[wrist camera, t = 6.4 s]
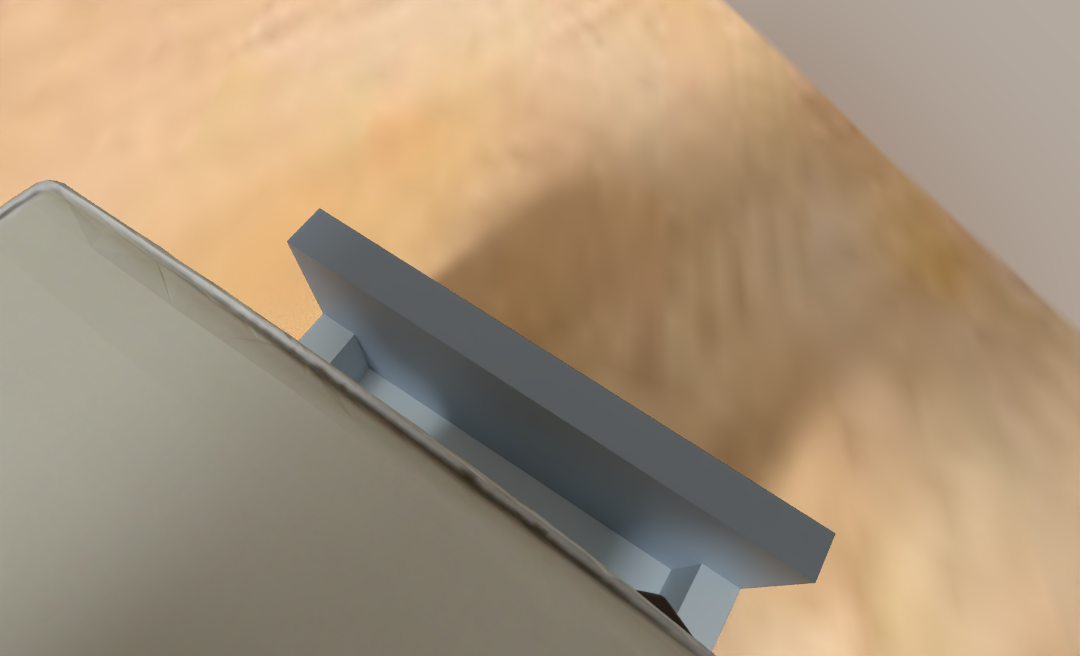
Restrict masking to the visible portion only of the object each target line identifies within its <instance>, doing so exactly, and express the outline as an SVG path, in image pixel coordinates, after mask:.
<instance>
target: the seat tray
mask: <svg viewBox="0 0 1080 656" xmlns="http://www.w3.org/2000/svg"><path fill="white" fill-rule="evenodd" d="M287 242H288V244H289V246H290V248H291V250H292V252H293V254H294V256H295V258H296V260H297V262H298V264H299V266H300V268H301V270H302V272H303V274H304V276H305V278H306V280H307V282H308V284H309V286H310V288H311V290H312V292H313V294H314V296H315V298H316V300H317V302H318V304H319V306H320V308H321V310H322V312H323V314H322V316H321V317H320V318H319V319H318V320H317V321H316V322H315V323H314V324H313V326H312V327H311V328H310V329H309V330H308V331H307V332H306V333H305V335H304V336H303V337H302V338H301V339H300V340H299V342H300V343H301V344H303V345H304V346H306V347H307V348H309V349H310V350H311V351H313V352H314V353H316V354H317V355H318V356H320V357H321V358H323V359H324V360H326V361H327V362H328V363H330V364H331V365H333V366H334V367H336V368H337V369H338V370H340V371H341V372H343V373H344V374H345V375H347V376H348V377H349V378H351V379H352V380H354V381H355V382H356V383H358V384H359V385H361V386H362V387H363V388H365V389H366V390H367V391H369V392H370V393H372V394H373V395H374V396H376V397H377V398H378V399H380V400H381V401H383V402H384V403H385V404H387V405H388V406H390V407H391V408H392V409H394V410H395V411H397V412H398V413H399V414H401V415H402V416H404V417H405V418H407V419H408V420H410V421H411V422H413V423H414V424H416V425H417V426H419V427H420V428H421V429H422V430H424V431H425V432H426V433H428V434H429V435H430V436H431V437H433V438H434V439H435V440H436V441H438V442H439V443H440V444H441V445H443V446H444V447H446V448H447V449H449V450H450V451H452V452H453V453H455V454H456V455H458V456H459V457H461V458H462V459H464V460H465V461H467V462H468V463H469V464H471V465H472V466H473V467H475V468H476V469H477V470H479V471H480V472H481V473H483V474H484V475H485V476H487V477H488V478H489V479H491V480H492V481H493V482H495V483H496V484H497V485H499V486H500V487H501V488H503V489H504V490H506V491H507V492H508V493H510V494H511V495H512V496H514V497H515V498H516V499H518V500H519V501H521V502H522V503H523V504H525V505H526V506H528V507H529V508H530V509H532V510H533V511H534V512H536V513H537V514H539V515H540V516H541V517H543V518H544V519H545V520H546V521H547V522H549V523H550V524H551V525H552V526H554V527H555V528H556V529H558V530H559V531H560V532H562V533H563V534H564V535H566V536H567V537H568V538H570V539H571V540H572V541H574V542H575V543H576V544H578V545H579V546H580V547H582V548H583V549H584V550H586V551H587V552H588V553H589V554H591V555H592V556H593V557H594V558H595V559H597V560H598V561H599V562H600V563H601V564H603V565H604V566H605V567H606V568H607V569H609V570H610V571H611V572H613V573H614V574H615V575H617V576H618V577H619V578H621V579H622V580H623V581H625V582H626V583H627V584H629V585H630V586H631V587H632V588H634V589H635V590H640V591H645V592H650V593H655V594H659V595H662V596H663V597H665V598H666V599H667V601H668V602H669V603H670V605H671V606H672V608H673V609H674V610H675V612H676V613H677V615H678V616H679V617H680V619H681V620H682V621H683V623H684V624H685V626H686V627H687V628H688V630H689V631H690V633H691V634H692V635H693V637H694V638H695V639H697V640H698V641H699V642H700V643H702V644H703V645H704V646H705V647H706V648H708V649H709V650H710V651H711V652H712V650H713V648H714V646H715V643H716V641H717V639H718V637H719V635H720V633H721V630H722V628H723V626H724V624H725V622H726V619H727V617H728V615H729V613H730V611H731V608H732V606H733V604H734V602H735V600H736V597H737V595H738V593H739V591H740V589H745V588H757V587H769V586H782V585H794V584H806V583H815V582H816V580H817V578H818V575H819V573H820V570H821V568H822V565H823V563H824V560H825V558H826V556H827V553H828V551H829V548H830V546H831V543H832V541H833V538H834V536H835V533H834V532H832V531H831V530H829V529H827V528H826V527H824V526H823V525H821V524H819V523H818V522H816V521H815V520H813V519H812V518H810V517H808V516H807V515H805V514H804V513H802V512H800V511H799V510H797V509H796V508H794V507H793V506H791V505H789V504H788V503H786V502H785V501H783V500H781V499H780V498H778V497H777V496H775V495H774V494H772V493H770V492H769V491H767V490H766V489H764V488H762V487H761V486H759V485H758V484H756V483H754V482H753V481H751V480H750V479H748V478H747V477H745V476H743V475H742V474H740V473H739V472H737V471H735V470H734V469H732V468H731V467H729V466H728V465H726V464H724V463H723V462H721V461H720V460H718V459H716V458H715V457H713V456H712V455H710V454H708V453H707V452H705V451H704V450H702V449H701V448H699V447H697V446H696V445H694V444H693V443H691V442H689V441H688V440H686V439H685V438H683V437H682V436H680V435H678V434H677V433H675V432H674V431H672V430H670V429H669V428H667V427H666V426H664V425H663V424H661V423H659V422H658V421H656V420H655V419H653V418H651V417H650V416H648V415H647V414H645V413H643V412H642V411H640V410H639V409H637V408H636V407H634V406H632V405H631V404H629V403H628V402H626V401H624V400H623V399H621V398H620V397H618V396H617V395H615V394H613V393H612V392H610V391H609V390H607V389H605V388H604V387H602V386H601V385H599V384H597V383H596V382H594V381H593V380H591V379H590V378H588V377H586V376H585V375H583V374H582V373H580V372H578V371H577V370H575V369H574V368H572V367H571V366H569V365H567V364H566V363H564V362H563V361H561V360H559V359H558V358H556V357H555V356H553V355H552V354H550V353H548V352H547V351H545V350H544V349H542V348H540V347H539V346H537V345H536V344H534V343H532V342H531V341H529V340H528V339H526V338H525V337H523V336H521V335H520V334H518V333H517V332H515V331H513V330H512V329H510V328H509V327H507V326H506V325H504V324H502V323H501V322H499V321H498V320H496V319H494V318H493V317H491V316H490V315H488V314H487V313H485V312H483V311H482V310H480V309H479V308H477V307H475V306H474V305H472V304H471V303H469V302H467V301H466V300H464V299H463V298H461V297H460V296H458V295H456V294H455V293H453V292H452V291H450V290H448V289H447V288H445V287H444V286H442V285H441V284H439V283H437V282H436V281H434V280H433V279H431V278H429V277H428V276H426V275H425V274H423V273H421V272H420V271H418V270H417V269H415V268H414V267H412V266H410V265H409V264H407V263H406V262H404V261H402V260H401V259H399V258H398V257H396V256H395V255H393V254H391V253H390V252H388V251H387V250H385V249H383V248H382V247H380V246H379V245H377V244H376V243H374V242H372V241H371V240H369V239H368V238H366V237H364V236H363V235H361V234H360V233H358V232H356V231H355V230H353V229H352V228H350V227H349V226H347V225H345V224H344V223H342V222H341V221H339V220H337V219H336V218H334V217H333V216H331V215H330V214H328V213H326V212H325V211H323V210H322V209H320V208H319V209H318V210H317V211H316V213H315V214H314V215H313V216H312V217H311V218H310V219H309V220H308V221H307V222H306V223H305V224H304V225H303V226H302V227H301V228H300V229H299V230H298V231H297V232H296V233H295V234H294V235H293V236H292V237H291V238H290V239H289V240H288V241H287Z"/></svg>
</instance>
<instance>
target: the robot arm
mask: <svg viewBox="0 0 1080 656" xmlns="http://www.w3.org/2000/svg"><path fill="white" fill-rule="evenodd" d="M636 591H637V592H638V593H640V594H641V595H642V596H643V597H645V598H646V599H647V600H648V601H649V602H651V603H652V604H653V605H654V606H655V607H657V608H658V609H659V610H660V611H662V612H663V613H664V614H665V615H666V616H668V617H669V618H670V619H671V620H673V621H674V622H675V623H676V624H678V625H679V626H680V627H681V628H683V629H684V630H685V631H686V632H688V633H689V634H690V635H691V636H693V635H692V634H691V633H690V631H689V630H688V628H687V627H686V626H685V624H684V623H683V621H682V620H681V619H680V617H679V616H678V615H677V613H676V612H675V610H674V609H673V608H672V606H671V605H670V603H669V602H668V601H667V599H666V598H665V597H663V596H662V595H659V594H655V593H650V592H645V591H640V590H636Z"/></svg>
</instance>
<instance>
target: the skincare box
mask: <svg viewBox="0 0 1080 656" xmlns="http://www.w3.org/2000/svg"><path fill="white" fill-rule="evenodd" d="M0 656H716V655H714V654H713V653H712V652H711V651H710V650H709V649H708V648H706V647H705V646H704V645H703V644H702V643H700V642H699V641H698V640H697V639H695V638H694V637H693V636H691V635H690V634H689V633H688V632H686V631H685V630H684V629H683V628H681V627H680V626H679V625H678V624H676V623H675V622H674V621H673V620H671V619H670V618H669V617H668V616H666V615H665V614H664V613H663V612H662V611H660V610H659V609H658V608H657V607H655V606H654V605H653V604H652V603H651V602H649V601H648V600H647V599H646V598H645V597H643V596H642V595H641V594H640V593H638V592H637V591H636V590H635V589H634V588H632V587H631V586H630V585H629V584H627V583H626V582H625V581H623V580H622V579H621V578H619V577H618V576H617V575H615V574H614V573H613V572H611V571H610V570H609V569H607V568H606V567H605V566H604V565H603V564H601V563H600V562H599V561H598V560H597V559H595V558H594V557H593V556H592V555H591V554H589V553H588V552H587V551H586V550H584V549H583V548H582V547H580V546H579V545H578V544H576V543H575V542H574V541H572V540H571V539H570V538H568V537H567V536H566V535H564V534H563V533H562V532H560V531H559V530H558V529H556V528H555V527H554V526H552V525H551V524H550V523H549V522H547V521H546V520H545V519H544V518H543V517H541V516H540V515H539V514H537V513H536V512H534V511H533V510H532V509H530V508H529V507H528V506H526V505H525V504H523V503H522V502H521V501H519V500H518V499H516V498H515V497H514V496H512V495H511V494H510V493H508V492H507V491H506V490H504V489H503V488H501V487H500V486H499V485H497V484H496V483H495V482H493V481H492V480H491V479H489V478H488V477H487V476H485V475H484V474H483V473H481V472H480V471H479V470H477V469H476V468H475V467H473V466H472V465H471V464H469V463H468V462H467V461H465V460H464V459H462V458H461V457H459V456H458V455H456V454H455V453H453V452H452V451H450V450H449V449H447V448H446V447H444V446H443V445H441V444H440V443H439V442H438V441H436V440H435V439H434V438H433V437H431V436H430V435H429V434H428V433H426V432H425V431H424V430H422V429H421V428H420V427H419V426H417V425H416V424H414V423H413V422H411V421H410V420H408V419H407V418H405V417H404V416H402V415H401V414H399V413H398V412H397V411H395V410H394V409H392V408H391V407H390V406H388V405H387V404H385V403H384V402H383V401H381V400H380V399H378V398H377V397H376V396H374V395H373V394H372V393H370V392H369V391H367V390H366V389H365V388H363V387H362V386H361V385H359V384H358V383H356V382H355V381H354V380H352V379H351V378H349V377H348V376H347V375H345V374H344V373H343V372H341V371H340V370H338V369H337V368H336V367H334V366H333V365H331V364H330V363H328V362H327V361H326V360H324V359H323V358H321V357H320V356H318V355H317V354H316V353H314V352H313V351H311V350H310V349H309V348H307V347H306V346H304V345H303V344H301V343H300V342H299V341H297V340H296V339H294V338H293V337H292V336H290V335H289V334H287V333H286V332H284V331H283V330H281V329H280V328H278V327H277V326H275V325H274V324H272V323H271V322H269V321H268V320H266V319H265V318H264V317H262V316H261V315H259V314H258V313H256V312H255V311H253V310H252V309H251V308H249V307H248V306H246V305H245V304H243V303H242V302H241V301H239V300H238V299H236V298H235V297H233V296H232V295H230V294H229V293H228V292H226V291H225V290H223V289H222V288H220V287H219V286H217V285H216V284H214V283H213V282H211V281H210V280H208V279H207V278H205V277H203V276H202V275H200V274H199V273H197V272H196V271H194V270H193V269H191V268H189V267H188V266H186V265H185V264H183V263H182V262H180V261H179V260H177V259H176V258H175V257H173V256H172V255H171V254H169V253H168V252H167V251H165V250H164V249H163V248H161V247H160V246H158V245H157V244H155V243H153V242H152V241H150V240H149V239H147V238H146V237H144V236H142V235H141V234H139V233H138V232H136V231H135V230H133V229H132V228H130V227H128V226H127V225H125V224H124V223H122V222H121V221H119V220H118V219H116V218H115V217H113V216H112V215H110V214H109V213H107V212H106V211H104V210H103V209H101V208H100V207H98V206H97V205H95V204H94V203H92V202H91V201H89V200H87V199H86V198H84V197H83V196H81V195H80V194H79V193H77V192H76V191H74V190H73V189H71V188H70V187H68V186H67V185H66V184H64V183H61V182H58V181H51V180H46V181H42V182H38V183H36V184H34V185H33V186H31V187H29V188H28V189H26V190H25V191H23V192H22V193H20V194H18V195H17V196H15V197H14V198H12V199H11V200H9V201H8V202H7V203H5V204H4V205H2V206H1V207H0Z"/></svg>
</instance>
